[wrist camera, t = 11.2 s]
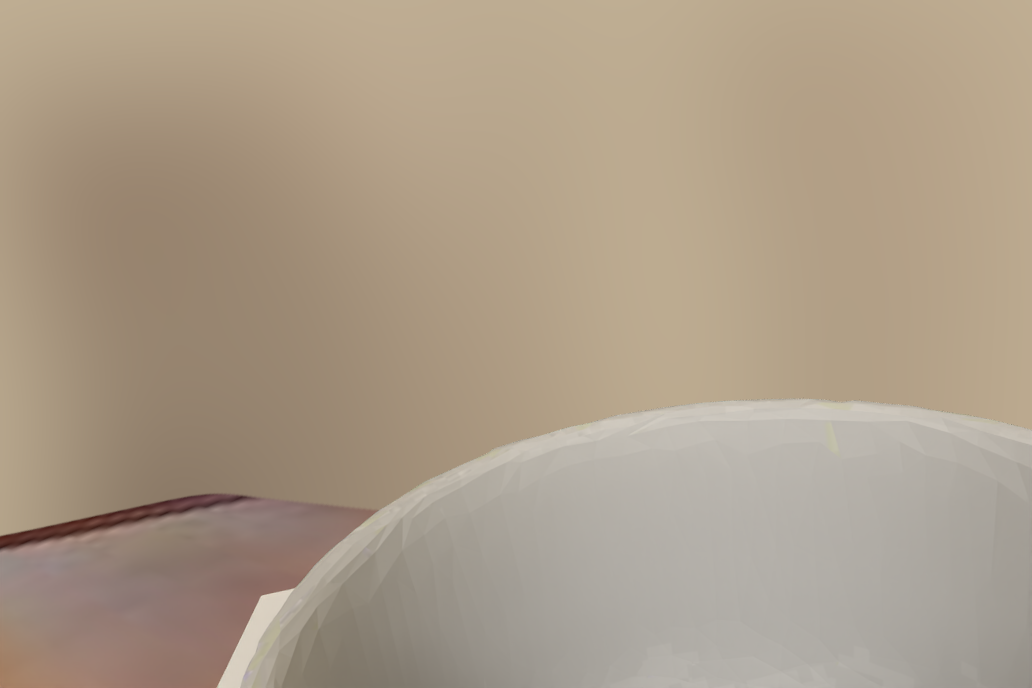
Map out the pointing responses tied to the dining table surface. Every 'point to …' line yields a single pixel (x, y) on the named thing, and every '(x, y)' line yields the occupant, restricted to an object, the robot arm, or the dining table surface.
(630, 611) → the teacup
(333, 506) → the dining table surface
